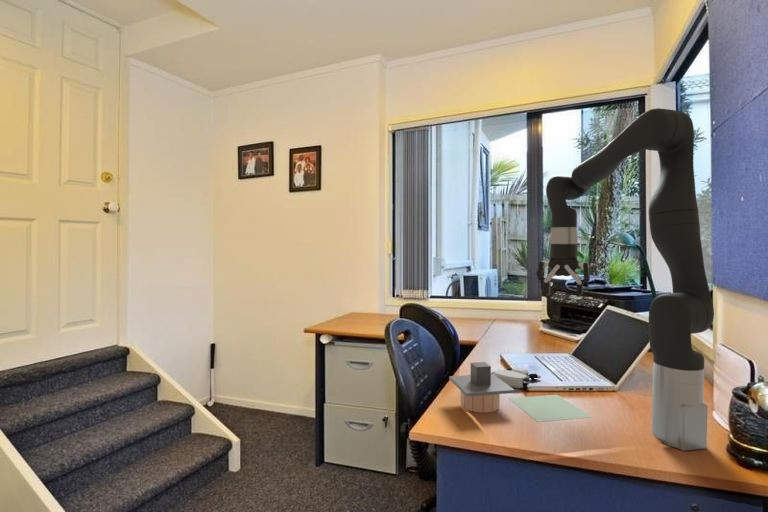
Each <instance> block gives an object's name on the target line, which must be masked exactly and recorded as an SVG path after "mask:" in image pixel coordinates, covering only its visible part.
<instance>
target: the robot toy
mask: <svg viewBox="0 0 768 512" xmlns="http://www.w3.org/2000/svg"><path fill="white" fill-rule="evenodd" d="M491 374H494V375H495V376H496V377H498V378H499V379H501V380H502V381H503V382H505V383H506V384H507V385H509V386H510V387H511V388H513V389H514V388H515V389H521V388H523V389H524V388H525V387H526V386H529V385H530V384H531V381H530V379H529V378H531V379H534V378H538V379H541V377H542V375H539V374H537V373H529V371H528V369H525V368H522V367H513V368H511V367H507V368H506V369H497V370H494V371H491Z"/></svg>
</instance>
